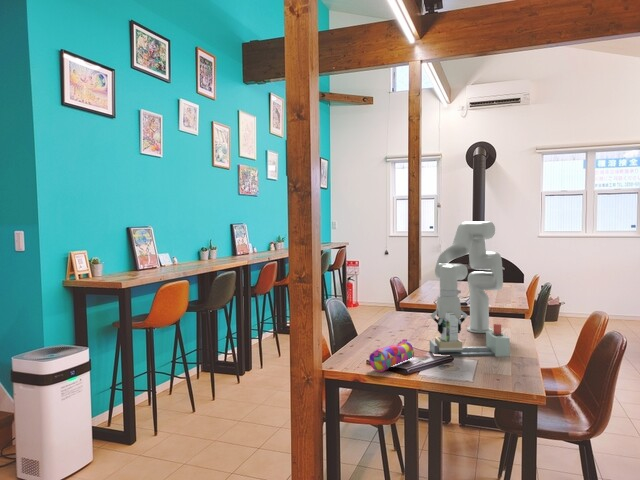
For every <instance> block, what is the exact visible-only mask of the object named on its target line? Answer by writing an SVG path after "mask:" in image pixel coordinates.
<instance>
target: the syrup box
mask: <svg viewBox="0 0 640 480" xmlns="http://www.w3.org/2000/svg"><path fill="white" fill-rule="evenodd" d="M441 325H442V334H440V337H441V342H458V339H459V333H458V319H457V318H456V316H455V314H454V313H453V312H447V313H446V316H445V319H443V321H442V322H441Z"/></svg>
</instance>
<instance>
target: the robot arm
mask: <svg viewBox="0 0 640 480" xmlns="http://www.w3.org/2000/svg"><path fill="white" fill-rule="evenodd" d="M495 234H496V226H495V223H493V221H489V220H488V221H487V220H486V221H463V222H461V223H460V224H459V225H458V226H457V229H456V231H455V235H454V238H453V241H452V244H451V245H450V246H448V247H447V248H445V250H443V251H442V252H441V253H440V254H439V256H438V258H437V260H436V263H435V267H434V275H435V277H436V278H437V279H439V295H438V296H437V300H436V310H435V311H434V312H432V314H430V318H432V320H434V322H435V323H437V332H438V333H439V334H440V335H441V334H442V325H441V322H442V321H443V319H445V316H446V313H447V312H453V313H454V314H455V316H456V318H457V319H458V334H461V330H462V323H463V322H464V321H465V320H466V319H467V317H468V314H467V313H466V311H463V310H462V307H461V300H460V296H459V294H461V290H460V289H458V281H463V280H464V279H466V278H467V284H468V291H469V326H467V327H466V330H467V331H468V332H470V333H475V334H486V331H493V329H492V328H493V327H490V318H489V317H490V314H489V313H490V303H489V301H490V299H489V296H488V294H487V292H486V291H500V290H502V289H503V287H504V286H503V285H504V278H503V277H504V273H503V272H504V271H503V261H502V260H503V259H502V256H501V254H500V253H499V252H496V251H487V247H486V241H485V240H490V239H492V238H493V237H494V236H495ZM466 255H468V258H469V259H468V260H469V267H470V268H471V269H472V270H477V271H471V272H470V273H469V274H468V271H469V270H468V267H467V266H466V265H465V264H463V263H452V262H451V263H450V261H453V260H455V259H458V258H461V257H464V256H466ZM478 270H479V271H478ZM481 270H482V271H481ZM436 316H437V317H438V319H437V318H436Z"/></svg>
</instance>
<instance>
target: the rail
mask: <svg viewBox="0 0 640 480" xmlns="http://www.w3.org/2000/svg"><path fill="white" fill-rule="evenodd" d="M462 347H463V350H461V352H438V348H437V344H436V343H435V340H434V339H429V351H430V353H431V352H432V353H434V354H441V355H450V356H453V357H456V358H457V357H496V356H495V353H494V352H492V351H491V350H490V347H488V346H486V345H485V346H462ZM432 353H431V354H432Z"/></svg>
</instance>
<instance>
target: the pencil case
mask: <svg viewBox="0 0 640 480" xmlns="http://www.w3.org/2000/svg"><path fill="white" fill-rule="evenodd" d="M412 357H413V358H415V352H414V347H413V345H412V344H411V343H410V342H408V339H405V338H403V339H402V340H400V341H399V342H396V343H395V344H392V345H389V346H385V347H382V348H377V349H376V350H374V351H372V352H371V353H370V354H369V357H368V359H369V363H370V366H371V368H372V369H373V370H374V371H376V372H378V371H379V373H383V372H384V371H387V370H389V369H388V368H389V367H391V366H393V365H395V364H398V363H400V362H403V361H405V360H408V359H410V358H412Z"/></svg>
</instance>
